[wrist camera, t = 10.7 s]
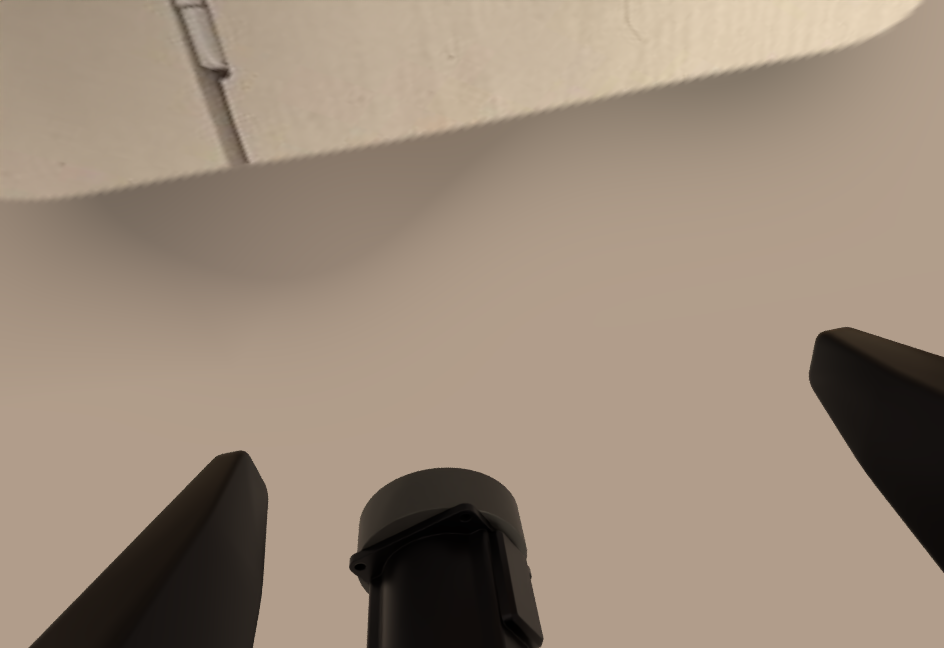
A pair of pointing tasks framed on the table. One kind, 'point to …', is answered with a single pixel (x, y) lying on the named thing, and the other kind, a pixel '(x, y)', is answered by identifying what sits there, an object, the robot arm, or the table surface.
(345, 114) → the table surface
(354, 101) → the table surface
